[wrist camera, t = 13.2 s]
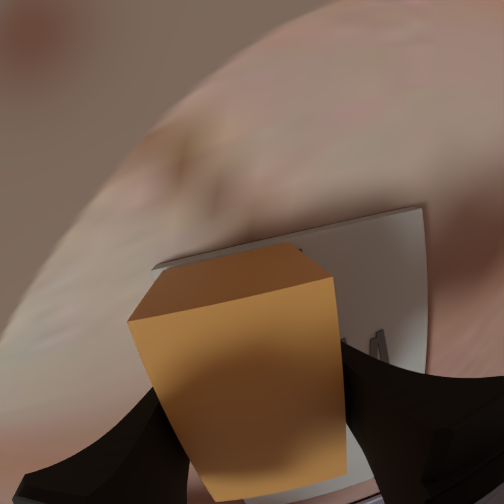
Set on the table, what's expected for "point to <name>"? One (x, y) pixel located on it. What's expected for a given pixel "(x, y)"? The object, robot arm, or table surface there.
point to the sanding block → (248, 369)
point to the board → (361, 304)
